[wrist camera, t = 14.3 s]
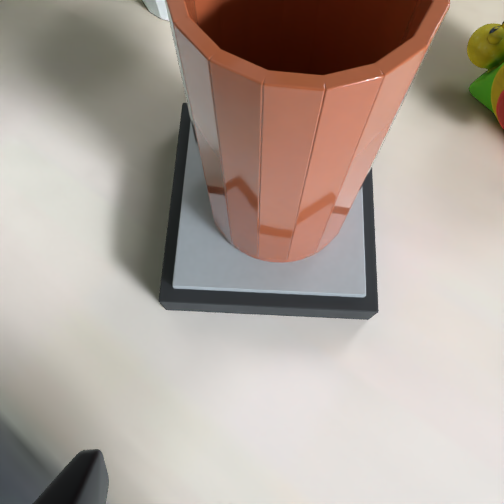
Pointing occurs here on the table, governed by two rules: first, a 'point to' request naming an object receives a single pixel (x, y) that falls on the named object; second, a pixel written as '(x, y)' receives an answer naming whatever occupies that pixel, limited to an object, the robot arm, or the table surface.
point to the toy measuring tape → (489, 67)
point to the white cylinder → (157, 8)
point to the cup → (294, 107)
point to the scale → (257, 271)
